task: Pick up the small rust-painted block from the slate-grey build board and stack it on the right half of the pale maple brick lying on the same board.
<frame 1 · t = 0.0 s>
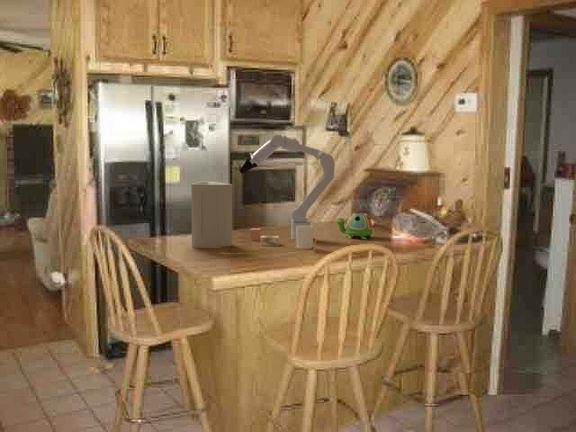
hand: (241, 171, 285), 32 cm above the worktop, tool tilted 50°, fingers open, 7 cm apart
turtle holder: (356, 237, 296), on the worktop
rust block: (255, 239, 282), point 1 cm above the worktop, touching build board
white cup: (304, 249, 264), on the worktop
maple brick: (269, 244, 270), point 1 cm above the worktop, touching build board
build board: (265, 243, 276), on the worktop
ribbed grey pillar: (207, 245, 269), on the worktop
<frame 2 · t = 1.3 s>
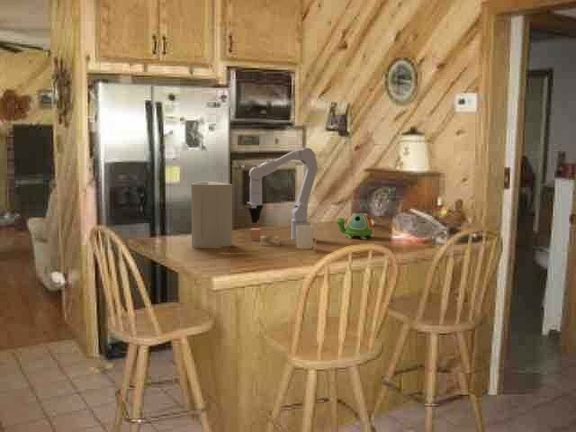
hand: (255, 221, 281), 9 cm above the worktop, tool pointing down, fingers open, 7 cm apart
nothing on the worktop moved.
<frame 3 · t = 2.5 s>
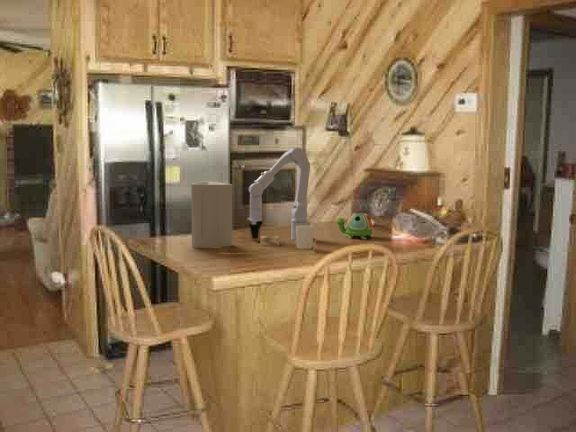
hand: (255, 237, 282), 2 cm above the worktop, tool pointing down, fingers closed on rust block, 4 cm apart
rust block: (255, 239, 282), point 1 cm above the worktop, touching build board, gripper
everything else where it was.
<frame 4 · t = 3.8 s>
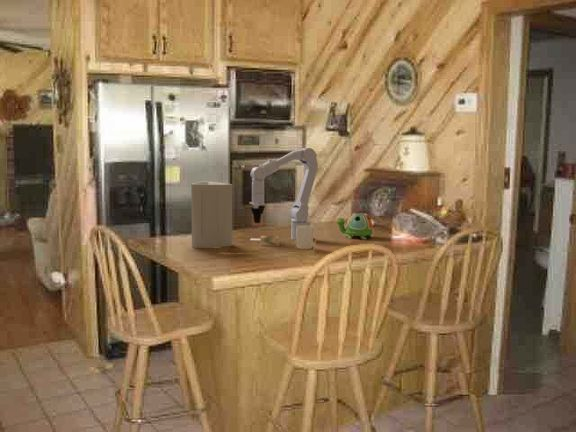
hand: (257, 222, 278), 9 cm above the worktop, tool pointing down, fingers closed on rust block, 4 cm apart
rust block: (257, 224, 279), point 8 cm above the worktop, touching gripper
everything else where it was.
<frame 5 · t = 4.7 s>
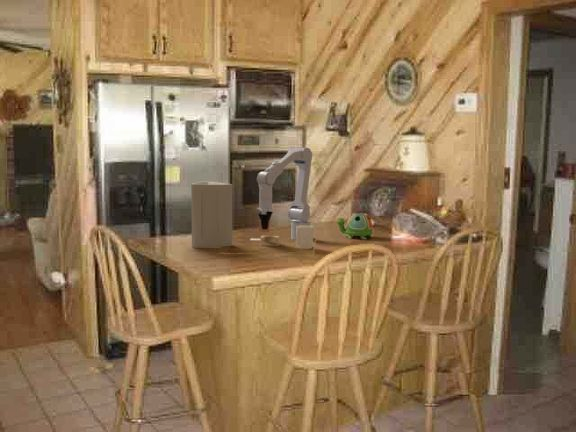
hand: (265, 228, 269), 8 cm above the worktop, tool pointing down, fingers closed on rust block, 4 cm apart
rust block: (264, 231, 269), point 7 cm above the worktop, touching gripper
everything else where it was.
when the fingers open (7 cm above the worktop, at t = 5.4 s): rust block drops 1 cm, resting on maple brick.
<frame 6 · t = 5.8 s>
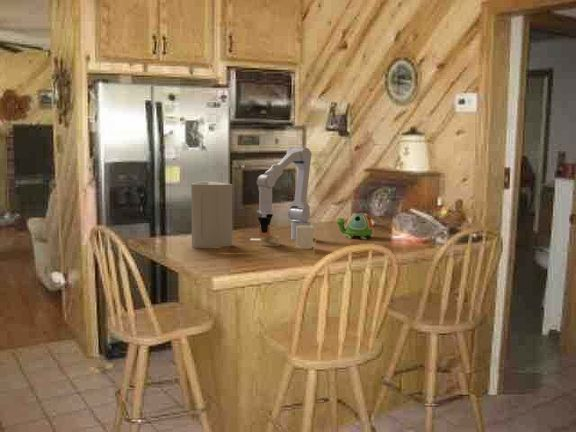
hand: (265, 231, 269), 7 cm above the worktop, tool pointing down, fingers open, 7 cm apart
rust block: (264, 236, 270), point 4 cm above the worktop, touching maple brick
maple brick: (269, 244, 270), point 1 cm above the worktop, touching build board, rust block
everything else where it was.
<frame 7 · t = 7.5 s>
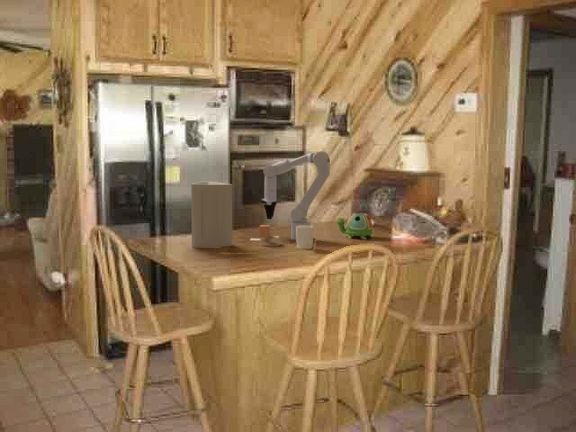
hand: (270, 218, 289), 10 cm above the worktop, tool pointing down, fingers open, 7 cm apart
nothing on the worktop moved.
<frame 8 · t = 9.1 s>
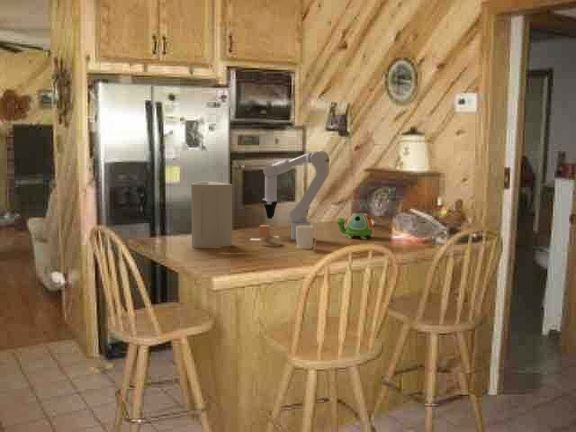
hand: (270, 217, 291), 10 cm above the worktop, tool pointing down, fingers open, 7 cm apart
nothing on the worktop moved.
at the end: rust block 0.3 cm from the target spot on the maple brick, point 3.5 cm above the maple brick's base; rust block tilted 0°; the gripper is holding nothing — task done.
